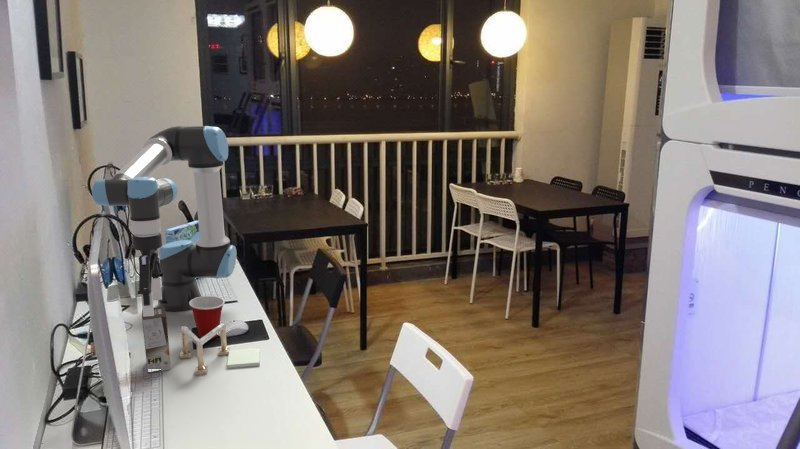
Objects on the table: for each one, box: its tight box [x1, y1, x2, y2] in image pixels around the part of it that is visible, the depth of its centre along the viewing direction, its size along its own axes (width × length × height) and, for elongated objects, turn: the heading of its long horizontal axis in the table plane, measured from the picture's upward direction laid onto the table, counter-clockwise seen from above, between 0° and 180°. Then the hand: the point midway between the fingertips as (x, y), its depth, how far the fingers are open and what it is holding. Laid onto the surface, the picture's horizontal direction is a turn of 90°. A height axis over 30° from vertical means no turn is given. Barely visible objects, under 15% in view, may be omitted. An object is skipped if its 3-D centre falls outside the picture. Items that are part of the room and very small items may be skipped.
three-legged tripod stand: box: [179, 322, 231, 376], centre depth 183 cm, size 15×14×9 cm
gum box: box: [164, 220, 200, 245], centre depth 259 cm, size 20×5×23 cm, turn 159°
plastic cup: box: [189, 295, 225, 340], centre depth 202 cm, size 11×11×12 cm
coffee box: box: [141, 307, 171, 372], centre depth 181 cm, size 9×6×16 cm
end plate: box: [226, 347, 261, 369], centre depth 187 cm, size 10×9×1 cm
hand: (153, 307), depth 179 cm, fingers open, 13 cm apart
